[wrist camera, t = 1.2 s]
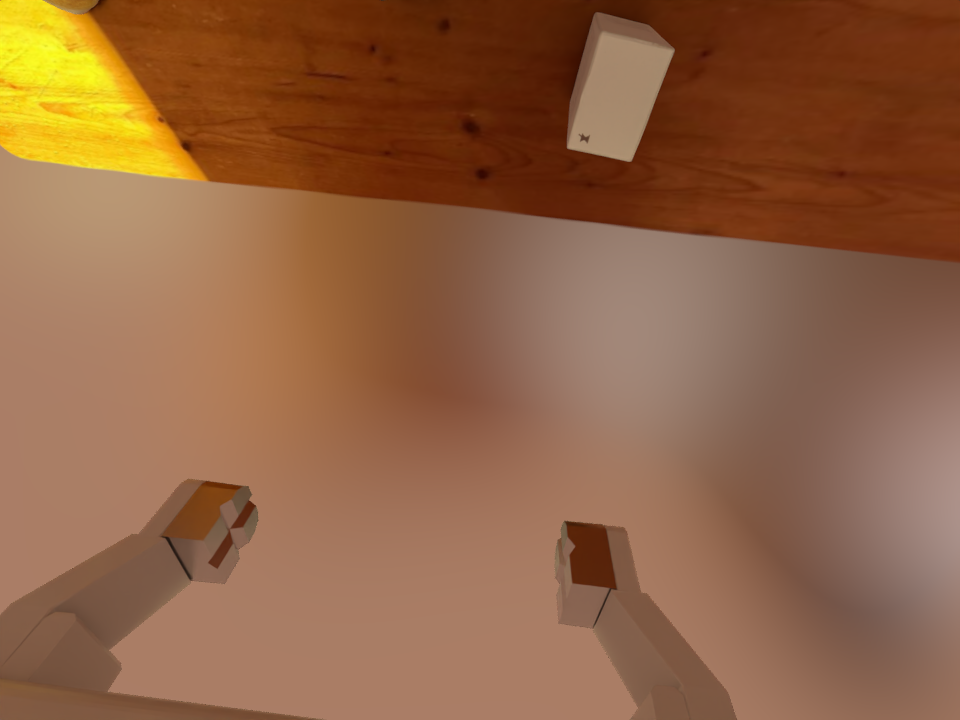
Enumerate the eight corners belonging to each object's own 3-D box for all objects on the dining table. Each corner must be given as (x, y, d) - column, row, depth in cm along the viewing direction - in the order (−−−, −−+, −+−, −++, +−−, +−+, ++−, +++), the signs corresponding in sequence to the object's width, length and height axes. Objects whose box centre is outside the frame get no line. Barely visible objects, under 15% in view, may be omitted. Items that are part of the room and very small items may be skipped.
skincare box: (620, 114, 35) (630, 166, 27) (569, 102, 35) (563, 150, 27) (653, 21, 31) (678, 48, 22) (594, 7, 31) (597, 29, 23)
